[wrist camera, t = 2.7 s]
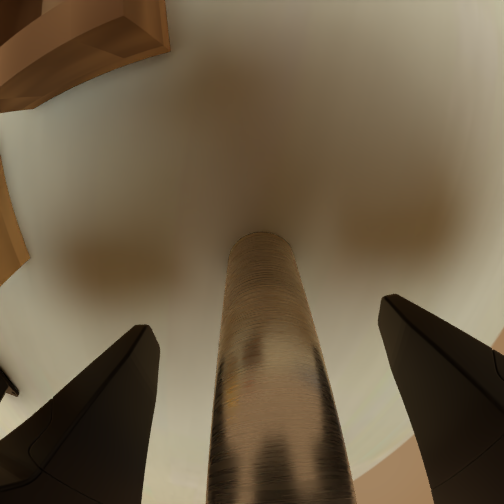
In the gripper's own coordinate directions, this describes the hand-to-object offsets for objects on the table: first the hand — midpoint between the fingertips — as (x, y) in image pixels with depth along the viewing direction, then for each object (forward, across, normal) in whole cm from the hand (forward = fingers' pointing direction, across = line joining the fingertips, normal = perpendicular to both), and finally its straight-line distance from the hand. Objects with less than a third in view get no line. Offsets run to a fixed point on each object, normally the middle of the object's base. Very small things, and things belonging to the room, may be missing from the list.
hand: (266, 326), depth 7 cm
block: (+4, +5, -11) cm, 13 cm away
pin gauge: (+3, 0, 0) cm, 3 cm away
